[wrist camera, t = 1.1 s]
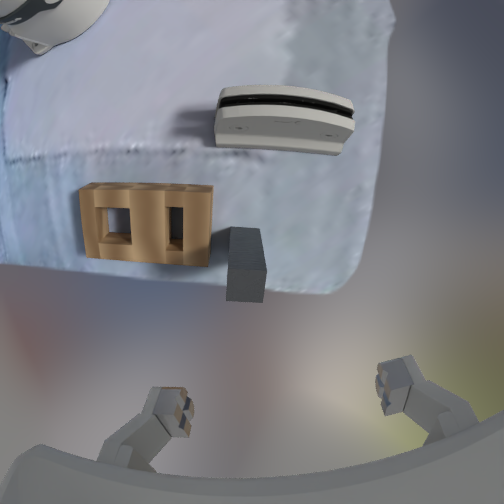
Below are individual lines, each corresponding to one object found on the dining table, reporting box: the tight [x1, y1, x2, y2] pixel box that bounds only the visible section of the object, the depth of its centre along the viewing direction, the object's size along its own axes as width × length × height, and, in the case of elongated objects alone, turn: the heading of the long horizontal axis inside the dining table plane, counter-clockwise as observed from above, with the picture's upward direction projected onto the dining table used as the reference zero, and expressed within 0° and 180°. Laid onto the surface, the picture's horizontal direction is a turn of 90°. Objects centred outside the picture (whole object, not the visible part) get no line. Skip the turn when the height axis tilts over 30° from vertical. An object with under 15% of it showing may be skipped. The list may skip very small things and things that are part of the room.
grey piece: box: [214, 85, 355, 156], centre depth 31 cm, size 17×5×10 cm, turn 87°
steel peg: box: [226, 227, 267, 303], centre depth 37 cm, size 4×4×12 cm
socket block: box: [79, 183, 214, 267], centre depth 38 cm, size 18×10×4 cm, turn 85°
